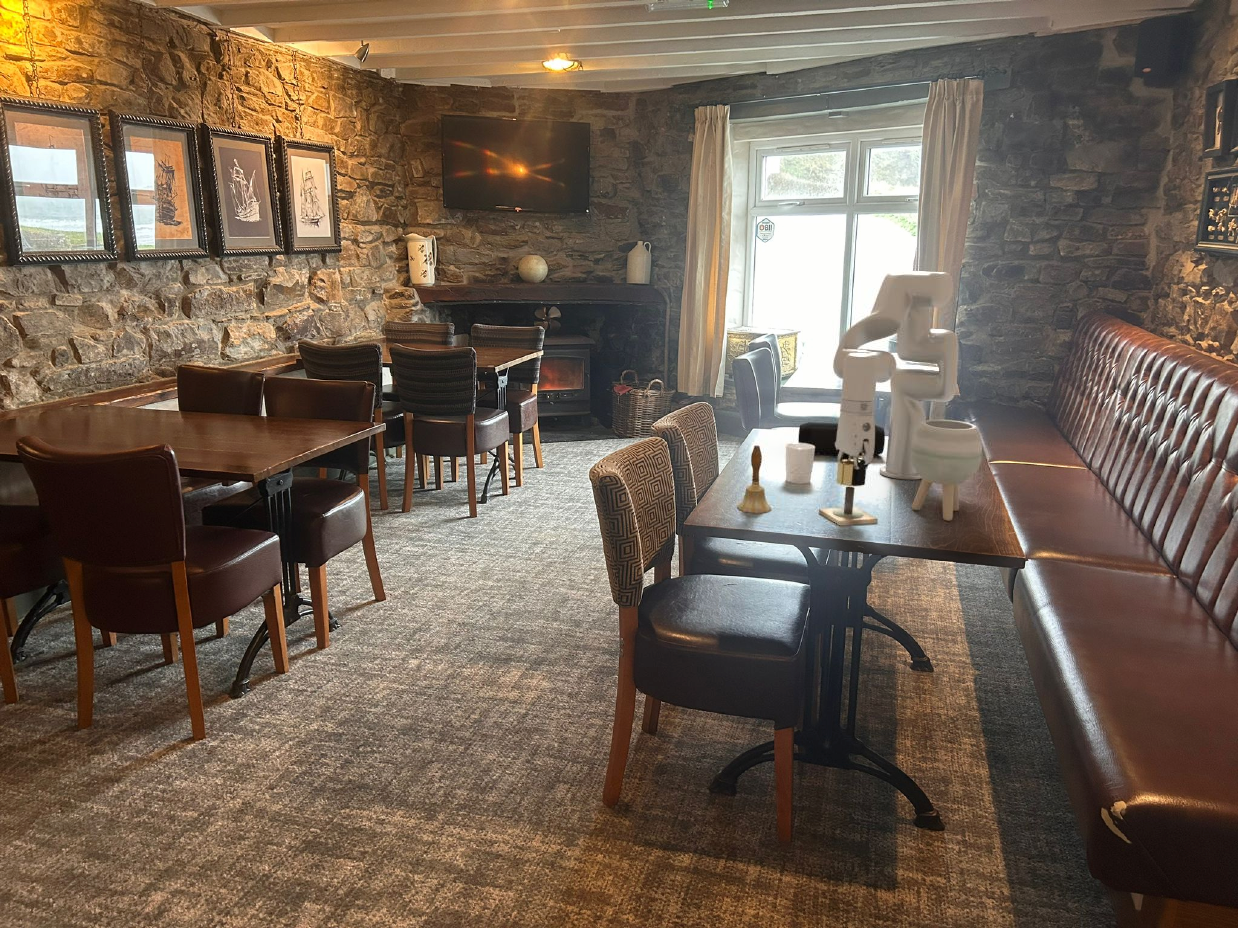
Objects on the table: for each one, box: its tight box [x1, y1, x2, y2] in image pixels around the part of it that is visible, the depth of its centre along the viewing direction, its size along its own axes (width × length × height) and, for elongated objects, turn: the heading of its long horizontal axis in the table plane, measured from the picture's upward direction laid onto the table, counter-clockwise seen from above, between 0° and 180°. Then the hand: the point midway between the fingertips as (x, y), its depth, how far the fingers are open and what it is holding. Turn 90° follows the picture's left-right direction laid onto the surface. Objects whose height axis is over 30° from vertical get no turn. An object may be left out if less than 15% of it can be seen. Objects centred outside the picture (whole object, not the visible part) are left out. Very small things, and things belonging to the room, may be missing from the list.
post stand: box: [818, 486, 879, 526], centre depth 204 cm, size 10×10×8 cm
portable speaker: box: [797, 421, 886, 457], centre depth 269 cm, size 26×10×10 cm, turn 84°
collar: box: [836, 459, 863, 487], centre depth 202 cm, size 6×6×5 cm
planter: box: [910, 419, 983, 522], centre depth 207 cm, size 16×16×22 cm
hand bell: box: [736, 445, 772, 514], centre depth 209 cm, size 8×8×16 cm
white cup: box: [785, 442, 815, 485], centre depth 236 cm, size 8×8×10 cm
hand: (850, 480), depth 203 cm, fingers closed on collar, 6 cm apart
